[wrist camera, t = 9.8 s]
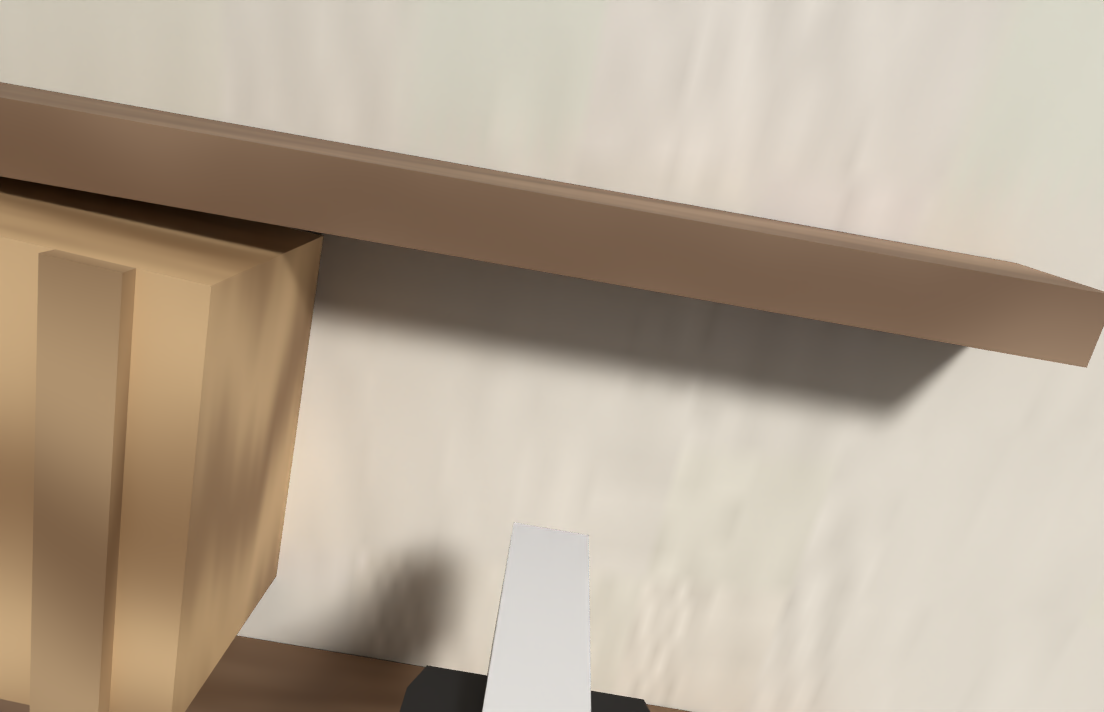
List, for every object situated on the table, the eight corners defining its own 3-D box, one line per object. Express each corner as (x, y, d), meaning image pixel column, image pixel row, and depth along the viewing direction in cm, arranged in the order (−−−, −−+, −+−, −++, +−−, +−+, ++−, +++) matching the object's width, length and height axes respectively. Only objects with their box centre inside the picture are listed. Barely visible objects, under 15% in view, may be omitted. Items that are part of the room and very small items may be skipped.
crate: (-77, 139, 18) (-409, 148, 12) (326, 234, 18) (199, 291, 12) (-67, 495, 21) (-329, 645, 15) (279, 571, 22) (158, 750, 15)
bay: (-323, -178, 16) (-964, -389, 9) (1083, 79, 17) (1422, 49, 10) (-196, 605, 22) (-531, 812, 16) (829, 775, 23) (932, 1048, 16)
